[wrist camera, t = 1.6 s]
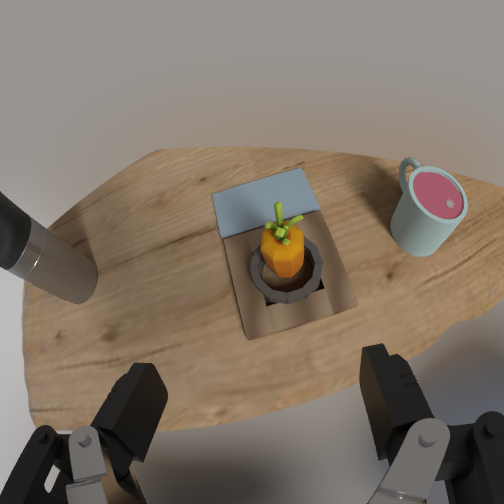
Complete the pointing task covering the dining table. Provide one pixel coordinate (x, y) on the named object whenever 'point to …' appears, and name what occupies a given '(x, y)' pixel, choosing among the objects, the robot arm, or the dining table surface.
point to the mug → (426, 208)
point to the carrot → (283, 244)
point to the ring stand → (295, 302)
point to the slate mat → (263, 202)
